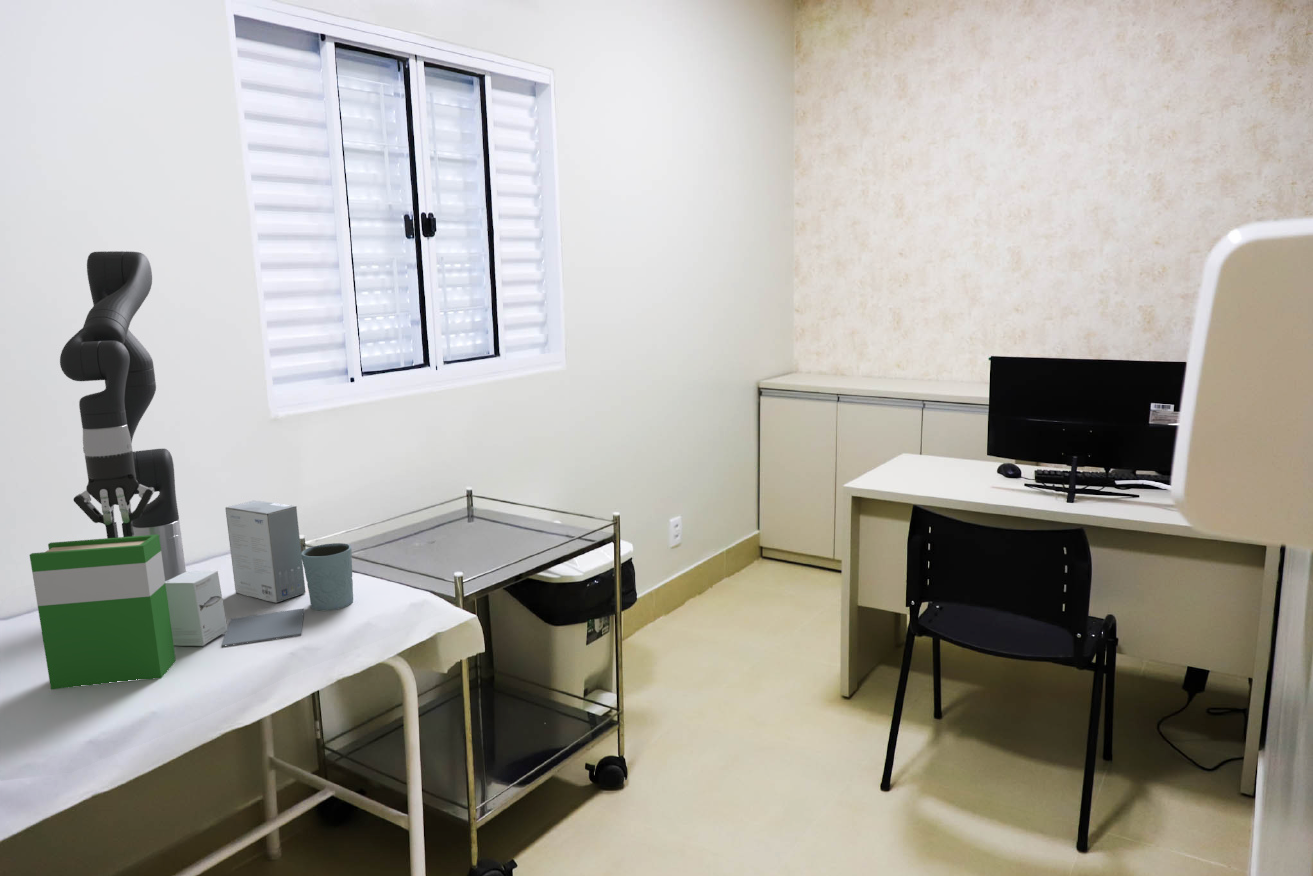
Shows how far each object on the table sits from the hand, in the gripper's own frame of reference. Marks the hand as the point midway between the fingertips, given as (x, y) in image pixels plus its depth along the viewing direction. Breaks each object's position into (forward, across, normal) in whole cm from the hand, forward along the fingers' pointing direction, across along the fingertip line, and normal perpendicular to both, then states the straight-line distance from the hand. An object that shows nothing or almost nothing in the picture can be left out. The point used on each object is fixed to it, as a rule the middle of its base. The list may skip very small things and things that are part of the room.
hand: (121, 542), depth 168 cm
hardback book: (+21, +1, +12) cm, 24 cm away
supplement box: (+21, -11, 0) cm, 24 cm away
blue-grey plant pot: (+21, -35, -11) cm, 42 cm away
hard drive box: (+21, -22, -24) cm, 39 cm away
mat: (+21, -22, -2) cm, 31 cm away
